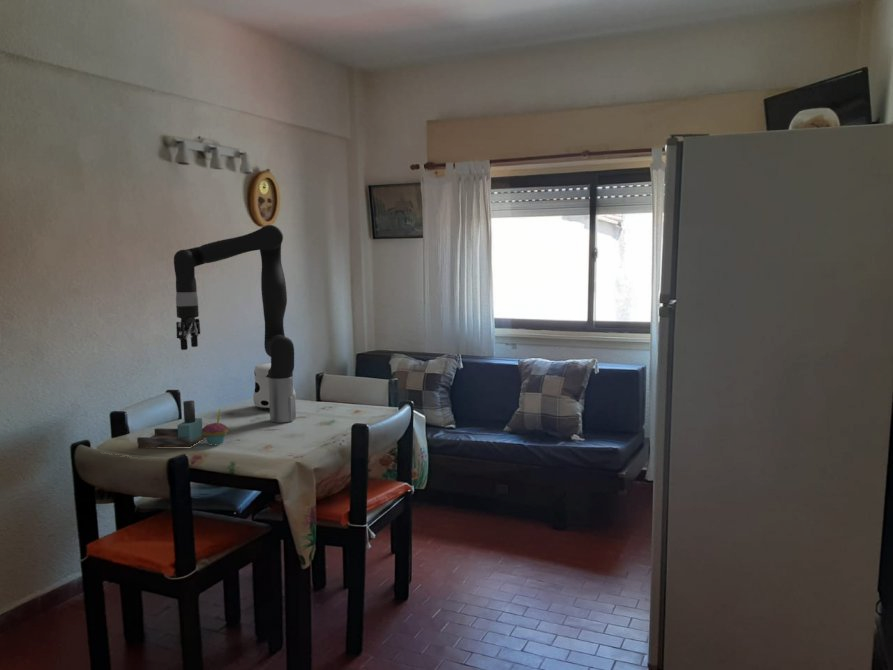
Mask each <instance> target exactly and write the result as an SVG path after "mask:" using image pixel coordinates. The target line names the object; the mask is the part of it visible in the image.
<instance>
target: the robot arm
mask: <svg viewBox="0 0 893 670" xmlns="http://www.w3.org/2000/svg"><path fill="white" fill-rule="evenodd" d="M283 240H284V235H283V232H282V230H281V228H280V227H277V226H275V225H272V224H268V225H264V226H262V227H261V228H259V229H258V230H255V231H252V232H250V233H247V234H243V235H240V236H236V237H230V238H225V239H222V240H216V241H212V242H209V243H204V244H202V245H201V246H197V247H191V248H186V249H180V250H178V251H177V252H176V253H175V254H174V255H173V268H174V275H175V290H176V291H175V294H176V295H175V307H176V309H175V310H176V317H177V318H178V319H180V321H176V323H175V325H176V328H175V329H176V338H177V339H179V341H180V349H181V350H182V351H185V350H186V351H187V350H188V349H189V348H188V336H189V335H190V343H191V347H192V348H197V347H198V346H199V344H198V343H199V342H198V341H199V340H198V337H199V335H201V326H200V325H201V324H200V319H199V318H198V317H199V316H200V315H199V314H200V313H199V299H198V298H199V297H198V293H197V292H198V290H197V289H198V288H197V280H196V277H195V273H196V272H195V267H199V266H201V265H204V264H205V265H206V264H212V263H216V262H219V261H222V260H226V259H229V258H230V259H231V258H233V257H236V256H238V255H241V254H244V253H249V252H254V251H259V252H260V253H259V254H260V260H261V275H260V284H261V285H260V287H261V298H262V299H261V300H262V311H263V319H264V343H263V344H264V351H265V353H266V355H268V357H270V363H271V368H270V369H269V371H268V382H269V407H270V410H269V421H270V422H271V423H277V424H278V423H291V422H293V421H294V420H295V419H297V417H296V416H297V413H296V412H297V411H296V397H295V395H296V394H295V395H293V387H294V376H293V375H294V374H293V373H294V369H295V347H294V342H293V341H292V339H290V338H289V337H286V336H285V335H286V334H285V328H284V327H285V326H284V320H285V319H284V318H285V313H286V309H287V304H288V303H287V302H288V295H287V293H288V292H287V284H286V283H287V282H286V278H285V273H284V269H283V265H282V243H283Z"/></svg>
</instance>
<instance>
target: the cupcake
mask: <svg viewBox="0 0 893 670" xmlns="http://www.w3.org/2000/svg"><path fill="white" fill-rule="evenodd" d="M220 418H221V409H219V410H218V411H217V418H216V419H217V421H216V422H214V423H208V424H206V425H205V426H203V427H202V435H203V436H205V437H206V439H205V440H206V442H207V444H208V445H209V444H212V445H211V446H216V445H215V444H220V445H222V444H223V443H224V440H225V437H226V434H228V432H229V431H228V430H229V427H228V426H227V425H226V424H223V423H221V422H220ZM221 443H222V444H221Z"/></svg>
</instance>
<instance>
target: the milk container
mask: <svg viewBox="0 0 893 670" xmlns="http://www.w3.org/2000/svg"><path fill="white" fill-rule="evenodd" d="M270 368H271V362H269V363H263V364H257V365H255V366H254V391H253V395H252V396H253V403H254V406H255V407H256V408H258V409H262V410H267V411H268V410H269V411H270V407H269V382H268V371H269V369H270ZM293 395H295V398H296V390H295V387H294V386H293Z"/></svg>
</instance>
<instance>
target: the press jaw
mask: <svg viewBox="0 0 893 670" xmlns="http://www.w3.org/2000/svg"><path fill="white" fill-rule="evenodd" d="M182 403H183V404H182V405H183V417H184V418H183V421H182V422H181V423H180V424H177V429H178V438H191V442H192V441H194V440H196V439H197V438H199V437H200V436H202V429H203V418H202V417H200V418H199V417H198V418H196V408H195V406H196V405H195V400H184V401H183V402H182Z"/></svg>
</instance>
